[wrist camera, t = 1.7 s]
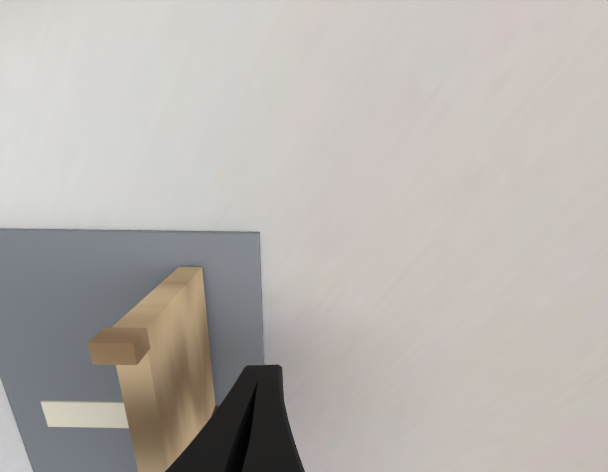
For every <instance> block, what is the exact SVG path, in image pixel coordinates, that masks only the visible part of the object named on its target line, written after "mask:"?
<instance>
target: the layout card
mask: <svg viewBox="0 0 608 472" xmlns="http://www.w3.org/2000/svg"><path fill="white" fill-rule="evenodd" d="M178 267H202V271H203V281H204V292H205V302H206V313H207V323H208V334H209V344H210V355H211V365H212V376H213V386H214V397H215V405H217V406H219V405H220V404H221V403H222V401H223V400H224V398H225V397H226V396H227V394H228V393H229V391H230V390H231V388H232V387H233V385H234V383H235V382H236V380H237V379H238V377H239V375H240V374H241V372H242V370H243V369H244V367H246V366H247V365H264V351H263V322H262V292H261V262H260V232H217V231H142V230H67V229H0V377H1V380H2V383H3V386H4V389H5V392H6V394H7V397H8V400H9V403H10V406H11V409H12V412H13V415H14V417H15V420H16V423H17V426H18V429H19V432H20V435H21V437H22V440H23V443H24V446H25V449H26V452H27V455H28V458H29V460H30V463H31V466H32V469H33V472H138V469H137V464H136V460H135V455H134V450H133V445H132V440H131V436H130V431H129V426H128V421H127V416H126V412H125V407H124V402H123V397H122V392H121V387H120V383H119V378H118V373H117V368H116V365H94V364H92V360H91V356H90V352H89V347H88V342H89V341H90V340H91V339H92V338H93V337H94V336H96V335H97V334H98V333H99V332H100V331H101V330H103V329H104V328H105V327H112V326H114V325H115V324H116V323H117V322H118V321H119V320H120V319H121V318H122V317H124V316H125V315H126V314H127V313H128V312H129V311H130V310H131V309H133V308H134V307H135V306H136V305H137V304H138V303H139V302H140V301H141V300H143V299H144V298H145V297H146V296H147V295H148V294H149V293H150V292H151V291H153V290H154V289H155V288H156V287H157V286H158V285H159V284H160V283H161V282H163V281H164V280H165V279H166V278H167V277H168V276H169V275H170V274H172V273H173V272H174V271H175V270H176V269H177V268H178Z"/></svg>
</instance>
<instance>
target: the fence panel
mask: <svg viewBox="0 0 608 472" xmlns="http://www.w3.org/2000/svg"><path fill="white" fill-rule="evenodd" d="M88 347H89V352H90V356H91V360H92V364H94V365H116V368H117V373H118V378H119V383H120V387H121V392H122V397H123V402H124V407H125V412H126V416H127V421H128V426H129V431H130V436H131V440H132V445H133V450H134V455H135V460H136V464H137V469H138V472H165V471H166V470H167V469H168V468H169V467H170V465H171V464H172V463H173V462H174V461H175V460H176V459H177V458H178V457H179V456H180V454H181V453H182V452H183V451H184V450H185V449H186V448H187V446H188V445H189V444H190V443H191V442H192V440H193V439H194V438H195V437H196V436H197V434H198V433H199V432H200V430H201V429H202V428H203V427H204V425H205V424H206V423H207V422H208V420H209V419H210V418H211V416H212V413H213V410H214V407H215V397H214V386H213V376H212V365H211V355H210V344H209V334H208V323H207V313H206V302H205V292H204V281H203V271H202V267H178V268H177V269H176V270H175V271H174V272H173V273H172V274H170V275H169V276H168V277H167V278H166V279H165V280H164V281H163V282H161V283H160V284H159V285H158V286H157V287H156V288H155V289H154V290H153V291H151V292H150V293H149V294H148V295H147V296H146V297H145V298H144V299H143V300H141V301H140V302H139V303H138V304H137V305H136V306H135V307H134V308H133V309H131V310H130V311H129V312H128V313H127V314H126V315H125V316H124V317H122V318H121V319H120V320H119V321H118V322H117V323H116V324H115V325H114V326H112V327H105V328H104V329H103V330H101V331H100V332H99V333H98V334H97V335H96V336H94V337H93V338H92V339H91V340H90V341H89V342H88Z"/></svg>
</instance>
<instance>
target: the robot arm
mask: <svg viewBox="0 0 608 472" xmlns="http://www.w3.org/2000/svg"><path fill="white" fill-rule="evenodd" d="M165 472H305V471H304V468H303V465H302V463H301V460H300V457H299V454H298V451H297V448H296V445H295V442H294V439H293V435H292V432H291V428H290V425H289V421H288V417H287V413H286V408H285V403H284V394H283V376H282V367H281V366H280V365H247V366H246V367H244V369H243V370H242V372H241V374H240V375H239V377H238V379H237V380H236V382H235V383H234V385H233V387H232V388H231V390H230V391H229V393H228V394H227V396H226V397H225V398H224V400H223V401H222V403H221V404H220V405H219V407H218V408H217V410H216V411H215V412H214V414H213V415H212V416H211V418H210V419H209V420H208V422H207V423H206V424H205V425H204V427H203V428H202V429H201V430H200V432H199V433H198V434H197V436H196V437H195V438H194V439H193V440H192V442H191V443H190V444H189V445H188V446H187V448H186V449H185V450H184V451H183V452H182V453H181V454H180V456H179V457H178V458H177V459H176V460H175V461H174V462H173V463H172V464H171V465H170V467H169V468H168V469H167V470H166V471H165Z"/></svg>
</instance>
